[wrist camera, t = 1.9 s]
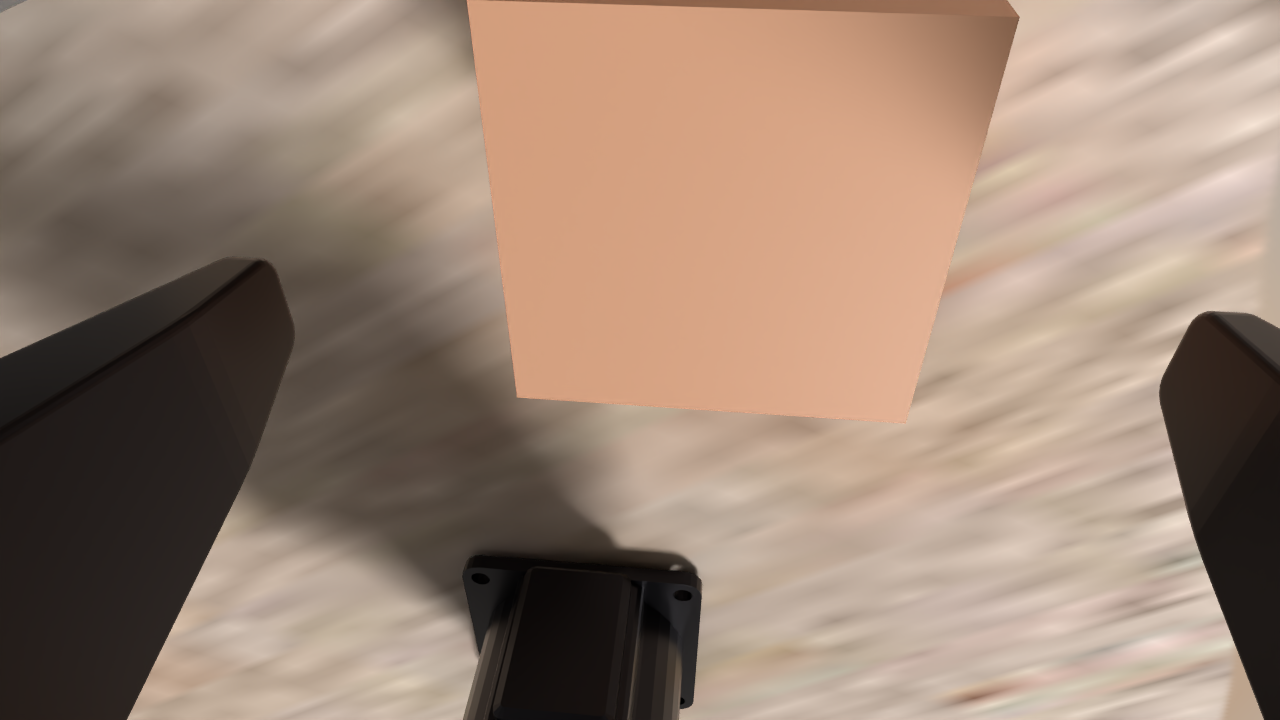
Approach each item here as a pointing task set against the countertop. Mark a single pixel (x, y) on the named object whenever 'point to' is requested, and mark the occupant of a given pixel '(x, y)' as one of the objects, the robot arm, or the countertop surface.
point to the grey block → (9, 4)
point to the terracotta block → (732, 193)
